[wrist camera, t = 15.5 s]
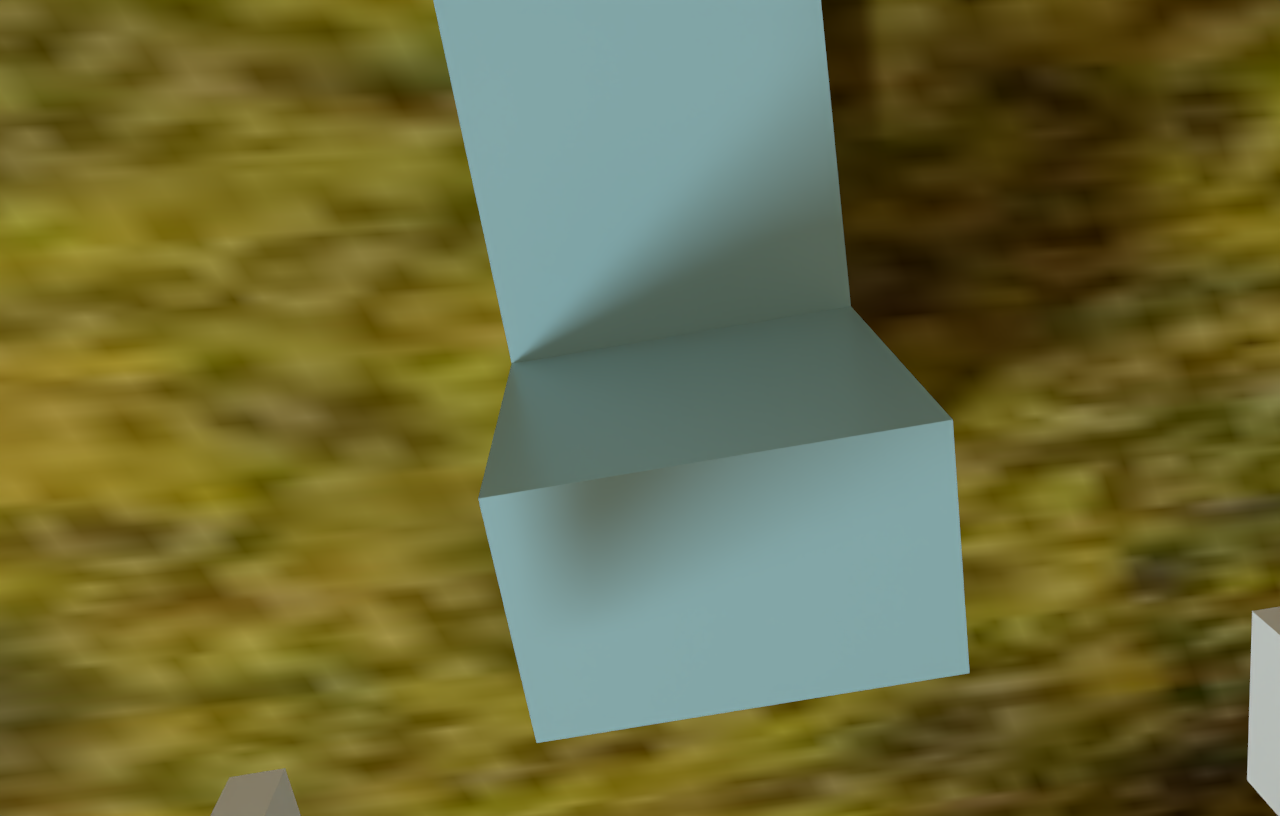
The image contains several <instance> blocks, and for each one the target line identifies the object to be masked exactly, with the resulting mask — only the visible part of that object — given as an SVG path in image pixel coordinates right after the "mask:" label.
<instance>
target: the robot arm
mask: <svg viewBox="0 0 1280 816" xmlns="http://www.w3.org/2000/svg"><path fill="white" fill-rule="evenodd" d="M1247 781H1248V782H1249V783H1250V784H1251V785H1252V786H1253V788H1254V789H1255V790H1256V791H1257V792H1258V793H1259V794H1260V796H1261V797H1262V798H1263V799H1264V800H1265V801H1266V802H1267V804H1268V805H1269V806H1270V807H1271V808H1272V809H1273V810H1274V812H1275V813H1276V814H1277V815H1278V816H1280V607H1275V608H1268V609H1262V610H1256V611H1252V636H1251V669H1250V701H1249V734H1248V767H1247ZM211 816H301V815H300V812H299V809H298V806H297V803H296V800H295V797H294V794H293V791H292V788H291V785H290V782H289V779H288V776H287V773H286V770H285V768H284V769H278V770H272V771H266V772H260V773H253V774H247V775H241V776H235V777H230V778H229V780H228V782H227V784H226V786H225V788H224V790H223V792H222V794H221V796H220V798H219V800H218V802H217V804H216V806H215V808H214V810H213V812H212V814H211Z"/></svg>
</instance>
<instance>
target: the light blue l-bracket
mask: <svg viewBox="0 0 1280 816" xmlns="http://www.w3.org/2000/svg"><path fill="white" fill-rule="evenodd" d="M433 1H434V5H435V10H436V15H437V19H438V24H439V29H440V33H441V38H442V42H443V47H444V52H445V56H446V61H447V66H448V70H449V75H450V80H451V84H452V89H453V93H454V98H455V103H456V107H457V112H458V117H459V121H460V126H461V130H462V135H463V140H464V144H465V149H466V154H467V158H468V163H469V168H470V172H471V177H472V181H473V186H474V191H475V195H476V200H477V205H478V209H479V214H480V218H481V223H482V228H483V232H484V237H485V242H486V246H487V251H488V256H489V260H490V265H491V269H492V274H493V279H494V283H495V288H496V293H497V297H498V302H499V306H500V311H501V316H502V320H503V325H504V330H505V334H506V339H507V343H508V348H509V353H510V357H511V362H512V365H511V369H510V373H509V377H508V381H507V385H506V389H505V393H504V397H503V401H502V405H501V409H500V413H499V417H498V421H497V425H496V429H495V433H494V437H493V441H492V445H491V449H490V453H489V458H488V462H487V466H486V470H485V474H484V478H483V482H482V486H481V490H480V494H479V498H478V499H479V504H480V508H481V512H482V516H483V520H484V524H485V529H486V533H487V537H488V541H489V545H490V550H491V554H492V558H493V562H494V566H495V571H496V575H497V579H498V583H499V587H500V592H501V596H502V600H503V604H504V608H505V613H506V617H507V621H508V625H509V629H510V634H511V638H512V642H513V646H514V650H515V654H516V659H517V663H518V667H519V671H520V675H521V680H522V684H523V688H524V692H525V696H526V701H527V705H528V709H529V713H530V717H531V722H532V726H533V730H534V734H535V738H536V743H540V742H546V741H552V740H558V739H565V738H571V737H577V736H583V735H589V734H596V733H602V732H608V731H614V730H620V729H627V728H633V727H639V726H645V725H651V724H657V723H664V722H670V721H676V720H682V719H688V718H695V717H701V716H707V715H713V714H719V713H726V712H732V711H738V710H744V709H750V708H757V707H763V706H769V705H775V704H781V703H787V702H794V701H800V700H806V699H812V698H818V697H825V696H831V695H837V694H843V693H849V692H856V691H862V690H868V689H874V688H880V687H886V686H893V685H899V684H905V683H911V682H917V681H924V680H930V679H936V678H942V677H948V676H955V675H961V674H967V673H969V658H968V643H967V628H966V613H965V598H964V582H963V567H962V552H961V537H960V522H959V507H958V492H957V477H956V461H955V446H954V431H953V419H952V418H951V417H950V416H949V415H948V414H947V413H946V412H945V411H944V409H943V408H942V407H941V406H940V405H939V404H938V403H937V402H936V400H935V399H934V398H933V397H932V396H931V395H930V394H929V393H928V392H927V390H926V389H925V388H924V387H923V386H922V385H921V384H920V383H919V382H918V380H917V379H916V378H915V377H914V376H913V375H912V374H911V373H910V372H909V370H908V369H907V368H906V367H905V366H904V365H903V364H902V363H901V362H900V360H899V359H898V358H897V357H896V356H895V355H894V354H893V353H892V351H891V350H890V349H889V348H888V347H887V346H886V345H885V344H884V343H883V341H882V340H881V339H880V338H879V337H878V336H877V335H876V334H875V333H874V331H873V330H872V329H871V328H870V327H869V326H868V325H867V324H866V323H865V321H864V320H863V319H862V318H861V317H860V316H859V315H858V314H857V312H856V311H855V310H854V309H853V308H852V307H851V302H850V292H849V282H848V271H847V261H846V251H845V241H844V230H843V220H842V210H841V200H840V190H839V179H838V169H837V159H836V149H835V138H834V128H833V118H832V108H831V98H830V87H829V77H828V67H827V57H826V46H825V36H824V26H823V16H822V5H821V0H433Z"/></svg>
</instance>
